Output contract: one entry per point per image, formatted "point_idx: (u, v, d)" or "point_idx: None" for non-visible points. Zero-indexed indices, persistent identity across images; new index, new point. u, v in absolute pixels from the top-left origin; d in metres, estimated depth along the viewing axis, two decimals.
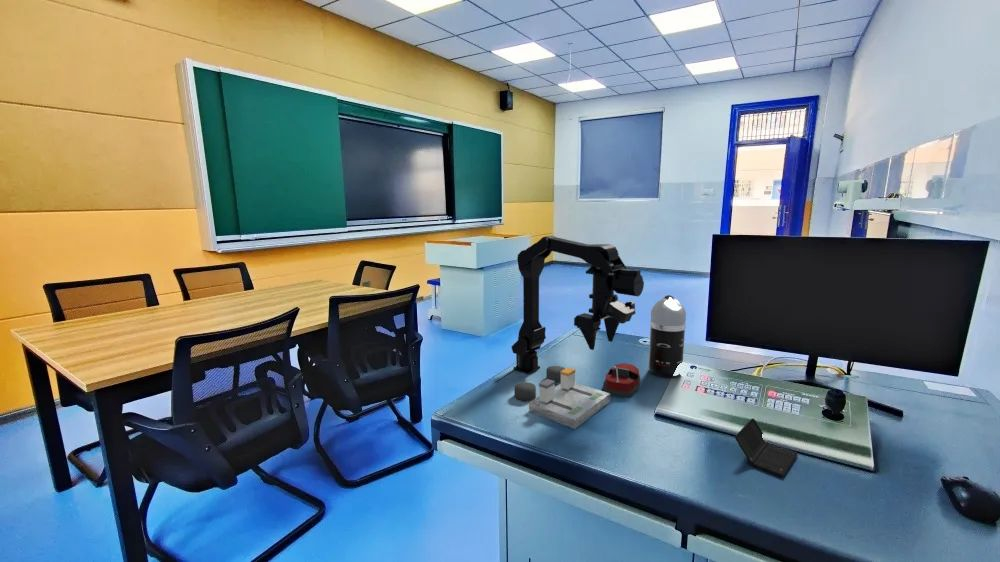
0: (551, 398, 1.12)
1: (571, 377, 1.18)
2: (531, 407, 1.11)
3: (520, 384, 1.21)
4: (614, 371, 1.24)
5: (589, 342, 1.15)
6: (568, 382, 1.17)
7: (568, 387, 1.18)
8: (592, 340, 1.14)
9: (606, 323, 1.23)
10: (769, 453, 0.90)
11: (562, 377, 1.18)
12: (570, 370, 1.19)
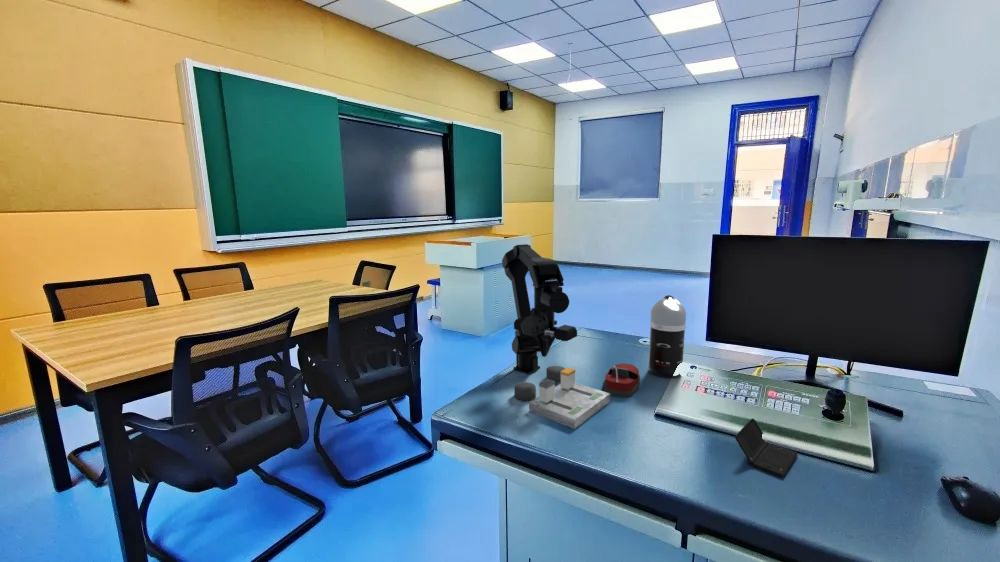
0: (551, 398, 1.12)
1: (571, 377, 1.18)
2: (531, 407, 1.11)
3: (520, 384, 1.21)
4: (614, 371, 1.24)
5: None
6: (568, 382, 1.17)
7: (568, 387, 1.18)
8: None
9: None
10: (769, 453, 0.90)
11: (562, 377, 1.18)
12: (570, 370, 1.19)
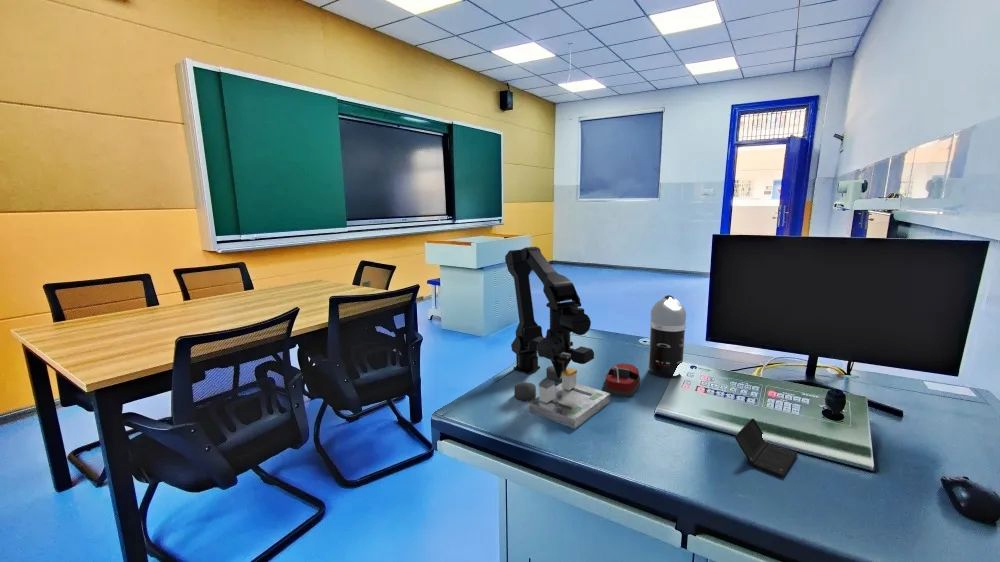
0: (551, 398, 1.12)
1: (573, 377, 1.18)
2: (531, 407, 1.11)
3: (520, 384, 1.21)
4: (614, 371, 1.23)
5: None
6: (570, 382, 1.17)
7: (570, 387, 1.18)
8: None
9: None
10: (769, 453, 0.90)
11: (564, 377, 1.18)
12: (572, 370, 1.18)
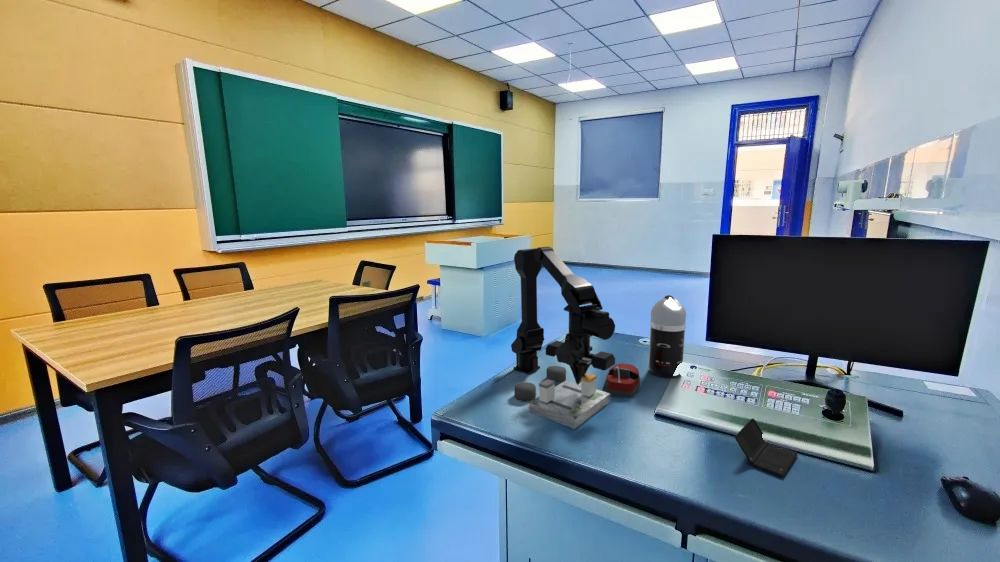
0: (551, 398, 1.12)
1: (592, 383, 1.14)
2: (531, 407, 1.11)
3: (520, 384, 1.21)
4: (615, 371, 1.23)
5: None
6: (589, 388, 1.13)
7: (589, 394, 1.13)
8: None
9: None
10: (769, 453, 0.90)
11: (583, 383, 1.14)
12: (591, 376, 1.14)
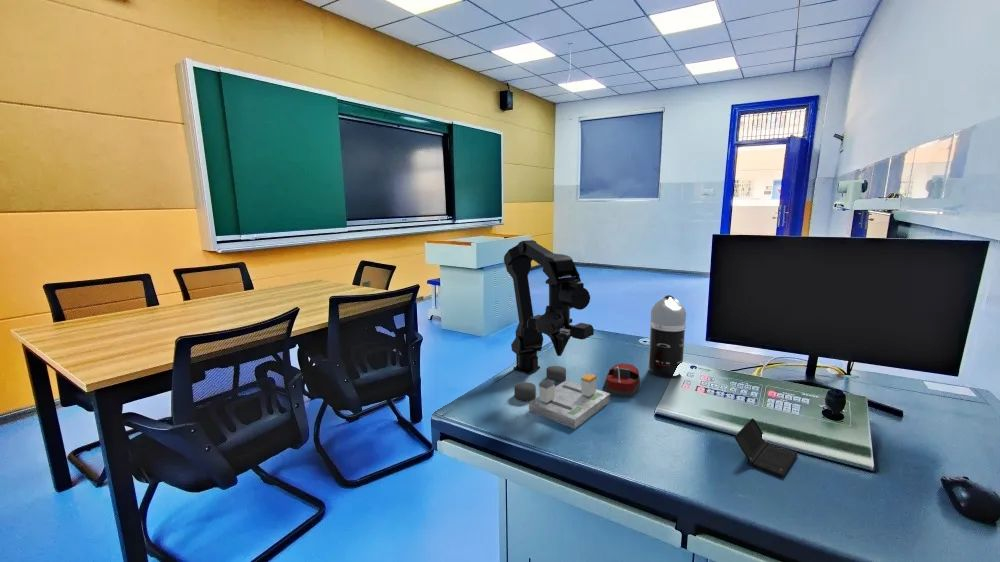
0: (551, 398, 1.12)
1: (592, 383, 1.14)
2: (531, 407, 1.11)
3: (520, 384, 1.21)
4: (615, 371, 1.23)
5: None
6: (589, 388, 1.13)
7: (589, 394, 1.13)
8: None
9: None
10: (769, 453, 0.90)
11: (583, 383, 1.14)
12: (591, 376, 1.14)
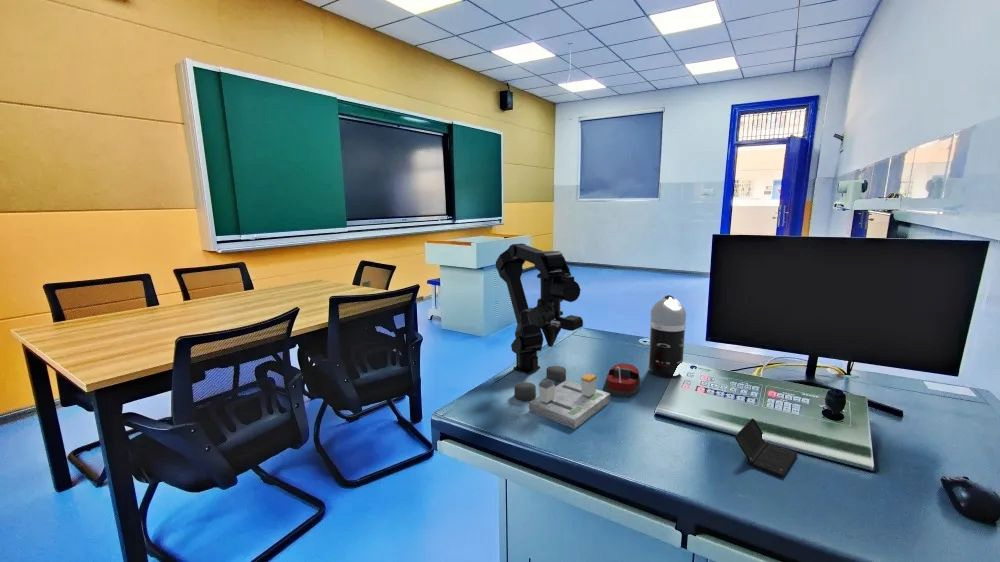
0: (551, 398, 1.12)
1: (592, 383, 1.14)
2: (531, 407, 1.11)
3: (520, 384, 1.21)
4: (615, 371, 1.23)
5: None
6: (589, 388, 1.13)
7: (589, 394, 1.13)
8: None
9: None
10: (769, 453, 0.90)
11: (583, 383, 1.14)
12: (591, 376, 1.14)
